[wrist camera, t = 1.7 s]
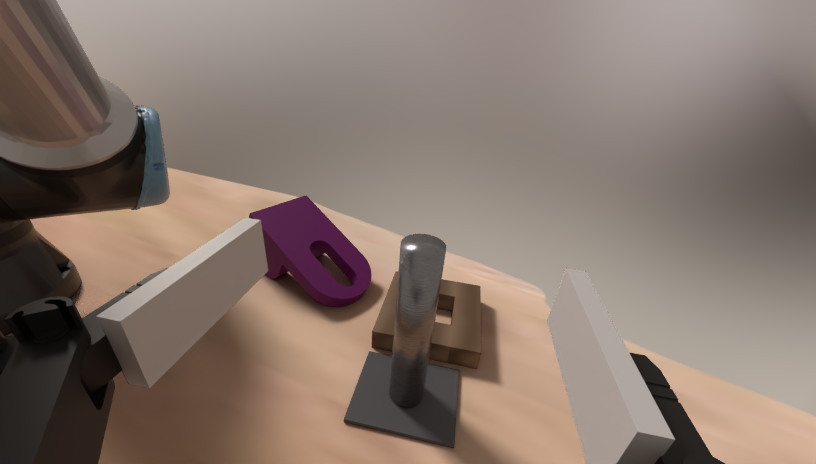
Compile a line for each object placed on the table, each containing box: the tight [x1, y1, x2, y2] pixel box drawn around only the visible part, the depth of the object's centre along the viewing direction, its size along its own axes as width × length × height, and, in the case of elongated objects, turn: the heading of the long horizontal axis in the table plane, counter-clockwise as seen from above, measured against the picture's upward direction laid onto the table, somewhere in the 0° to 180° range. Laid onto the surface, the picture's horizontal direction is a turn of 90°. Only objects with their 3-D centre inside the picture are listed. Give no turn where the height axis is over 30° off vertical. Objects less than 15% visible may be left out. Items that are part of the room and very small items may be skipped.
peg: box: [389, 234, 446, 409], centre depth 29 cm, size 3×3×17 cm
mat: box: [344, 351, 459, 448], centre depth 33 cm, size 10×8×1 cm
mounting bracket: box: [249, 196, 371, 307], centre depth 48 cm, size 10×8×18 cm
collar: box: [372, 271, 481, 369], centre depth 42 cm, size 12×12×2 cm
